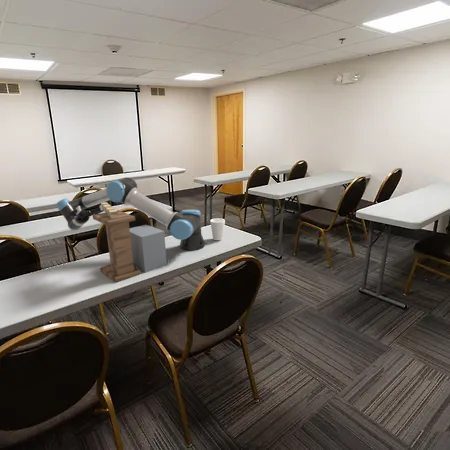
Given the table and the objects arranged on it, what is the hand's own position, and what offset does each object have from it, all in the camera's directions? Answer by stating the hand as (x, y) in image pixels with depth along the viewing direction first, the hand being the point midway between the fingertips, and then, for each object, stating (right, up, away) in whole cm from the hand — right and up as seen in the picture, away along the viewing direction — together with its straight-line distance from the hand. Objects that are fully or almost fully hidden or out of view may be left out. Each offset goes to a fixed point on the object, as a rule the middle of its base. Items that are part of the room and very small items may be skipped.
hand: (92, 206), depth 170 cm
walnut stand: (+18, -34, -9) cm, 40 cm away
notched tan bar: (+14, -4, -13) cm, 19 cm away
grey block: (+29, -31, +1) cm, 43 cm away
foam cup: (+67, -20, +37) cm, 79 cm away
